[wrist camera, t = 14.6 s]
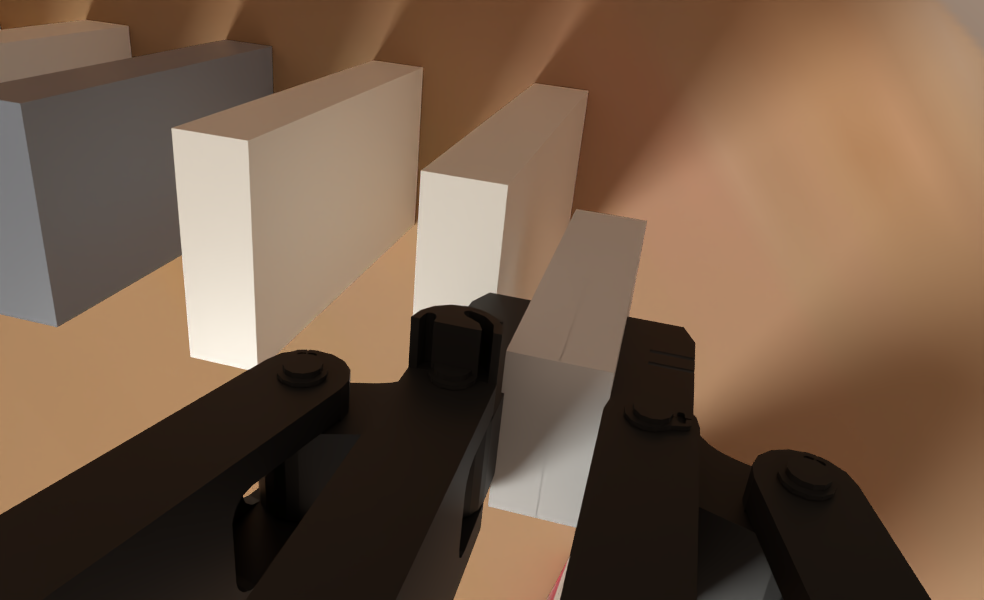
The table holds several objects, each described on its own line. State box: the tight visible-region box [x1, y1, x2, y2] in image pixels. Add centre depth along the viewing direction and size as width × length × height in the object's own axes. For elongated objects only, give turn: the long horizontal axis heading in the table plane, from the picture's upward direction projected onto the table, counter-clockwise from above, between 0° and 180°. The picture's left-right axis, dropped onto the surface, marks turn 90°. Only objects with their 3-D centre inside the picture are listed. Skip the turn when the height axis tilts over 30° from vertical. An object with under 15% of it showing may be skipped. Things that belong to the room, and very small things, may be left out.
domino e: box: [413, 83, 589, 315], centre depth 19 cm, size 2×5×10 cm, turn 175°
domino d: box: [171, 60, 423, 370], centre depth 20 cm, size 2×5×10 cm, turn 175°
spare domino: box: [0, 40, 273, 327], centre depth 21 cm, size 2×5×10 cm, turn 175°
